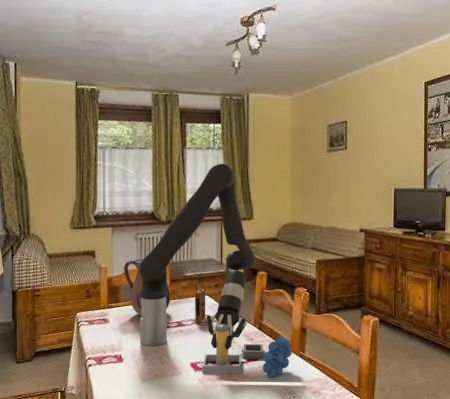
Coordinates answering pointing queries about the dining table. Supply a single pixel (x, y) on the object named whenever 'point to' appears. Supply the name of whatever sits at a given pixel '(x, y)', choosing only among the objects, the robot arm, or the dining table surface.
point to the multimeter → (200, 303)
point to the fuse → (221, 344)
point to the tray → (221, 367)
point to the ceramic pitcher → (138, 287)
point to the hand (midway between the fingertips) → (220, 347)
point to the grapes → (277, 357)
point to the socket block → (253, 351)
